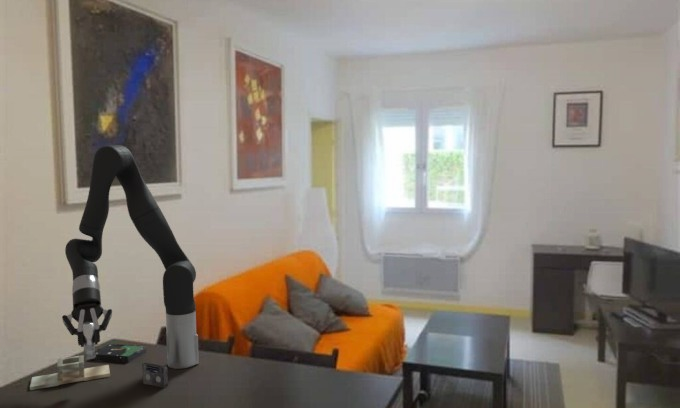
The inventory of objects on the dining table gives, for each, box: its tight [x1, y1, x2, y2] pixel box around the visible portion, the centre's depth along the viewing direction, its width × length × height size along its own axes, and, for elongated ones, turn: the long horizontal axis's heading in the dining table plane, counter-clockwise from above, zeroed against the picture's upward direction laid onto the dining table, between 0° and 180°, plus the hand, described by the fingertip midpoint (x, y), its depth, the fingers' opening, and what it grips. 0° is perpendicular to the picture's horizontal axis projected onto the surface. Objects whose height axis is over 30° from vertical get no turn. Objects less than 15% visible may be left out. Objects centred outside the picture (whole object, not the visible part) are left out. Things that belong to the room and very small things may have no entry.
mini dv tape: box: [141, 362, 169, 389], centre depth 150 cm, size 8×2×6 cm, turn 65°
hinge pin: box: [82, 322, 97, 360], centre depth 147 cm, size 3×3×10 cm
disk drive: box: [89, 343, 147, 364], centre depth 174 cm, size 10×3×15 cm
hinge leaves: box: [29, 354, 111, 391], centre depth 155 cm, size 21×8×6 cm, turn 117°
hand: (89, 344), depth 145 cm, fingers closed on hinge pin, 3 cm apart
